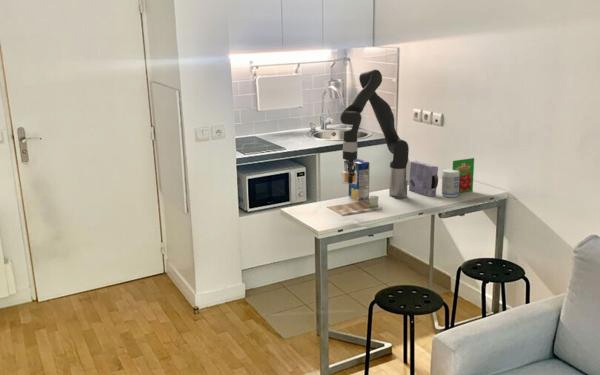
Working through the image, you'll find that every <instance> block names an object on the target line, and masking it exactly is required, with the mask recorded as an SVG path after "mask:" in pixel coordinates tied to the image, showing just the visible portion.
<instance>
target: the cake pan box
mask: <svg viewBox="0 0 600 375" xmlns="http://www.w3.org/2000/svg"><path fill="white" fill-rule="evenodd" d="M438 172H439V167H438V166H436V165H433V164H430V163H425V162H421V161H417V160H411V161H410V168H409V181H408V184H409V185H408V191H410V192H414V193H417V194H419V195H423V196H427V197H429V198H430V197H431V198H433V197H437V187H438V186H439V185H438V184H439V175H438V174H439V173H438Z"/></svg>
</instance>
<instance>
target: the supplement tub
mask: <svg viewBox="0 0 600 375" xmlns="http://www.w3.org/2000/svg"><path fill="white" fill-rule="evenodd" d="M459 175H460V173H459V170H453V168H446V169H442V176H441V196H442V197H444V198H457V197H458V196H459V195H460V194H459Z"/></svg>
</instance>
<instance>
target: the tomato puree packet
mask: <svg viewBox="0 0 600 375" xmlns="http://www.w3.org/2000/svg"><path fill="white" fill-rule="evenodd" d="M452 169H453V170H459V173H460V175H459V195H460V194H466V193H472V192H473V191H474V190H473V189H474V174H475V173H474V171H475V158H474V157H472V158H471V157H470V158H464V159H457V160H452Z"/></svg>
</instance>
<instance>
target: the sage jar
mask: <svg viewBox="0 0 600 375" xmlns="http://www.w3.org/2000/svg"><path fill="white" fill-rule="evenodd" d="M369 203H370V208H376V207H379V196H378V195H369Z"/></svg>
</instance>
